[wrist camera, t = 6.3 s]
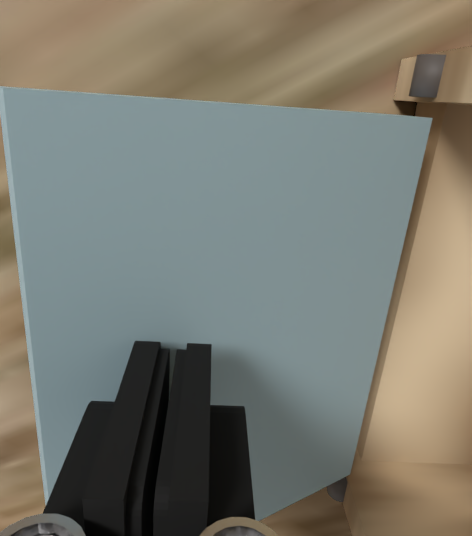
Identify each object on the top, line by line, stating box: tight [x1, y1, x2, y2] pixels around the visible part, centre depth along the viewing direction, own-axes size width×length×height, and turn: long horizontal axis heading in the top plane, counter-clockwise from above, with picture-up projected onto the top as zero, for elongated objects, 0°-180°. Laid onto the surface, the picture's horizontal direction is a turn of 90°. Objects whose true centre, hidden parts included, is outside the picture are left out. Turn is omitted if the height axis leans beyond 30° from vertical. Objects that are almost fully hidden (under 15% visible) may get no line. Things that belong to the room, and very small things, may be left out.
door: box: [0, 86, 433, 521], centre depth 12 cm, size 10×12×2 cm
